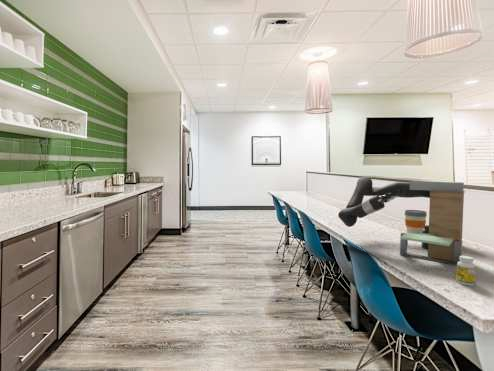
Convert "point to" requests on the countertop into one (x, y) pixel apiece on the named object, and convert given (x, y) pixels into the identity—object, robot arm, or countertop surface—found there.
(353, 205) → the robot arm
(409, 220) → the reusable coffee cup
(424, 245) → the supplement bottle
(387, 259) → the countertop surface
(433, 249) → the walnut pedestal
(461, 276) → the supplement bottle
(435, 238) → the trapdoor
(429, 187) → the slate bar
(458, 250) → the trapdoor frame
